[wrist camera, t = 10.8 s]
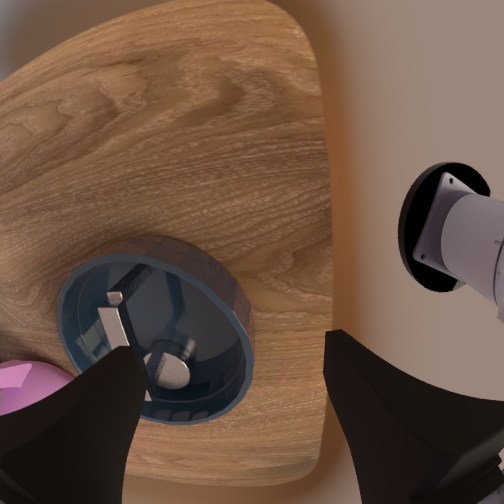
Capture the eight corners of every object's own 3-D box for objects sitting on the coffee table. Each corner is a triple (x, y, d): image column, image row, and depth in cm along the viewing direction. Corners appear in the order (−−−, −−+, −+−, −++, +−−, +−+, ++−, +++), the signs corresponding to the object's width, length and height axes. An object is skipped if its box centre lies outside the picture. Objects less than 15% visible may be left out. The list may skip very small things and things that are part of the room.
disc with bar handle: (198, 377, 22) (184, 433, 16) (154, 376, 22) (133, 427, 16) (171, 259, 19) (137, 300, 13) (120, 263, 19) (76, 301, 13)
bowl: (282, 271, 19) (289, 302, 15) (225, 405, 23) (220, 442, 19) (95, 209, 18) (58, 222, 14) (85, 353, 22) (63, 382, 18)
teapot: (153, 459, 28) (133, 531, 16) (71, 443, 29) (44, 497, 17) (66, 323, 21) (-9, 406, 10) (-7, 326, 22) (-63, 377, 11)
